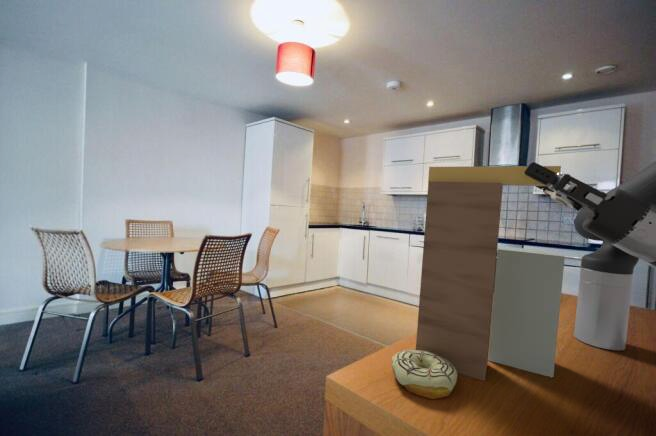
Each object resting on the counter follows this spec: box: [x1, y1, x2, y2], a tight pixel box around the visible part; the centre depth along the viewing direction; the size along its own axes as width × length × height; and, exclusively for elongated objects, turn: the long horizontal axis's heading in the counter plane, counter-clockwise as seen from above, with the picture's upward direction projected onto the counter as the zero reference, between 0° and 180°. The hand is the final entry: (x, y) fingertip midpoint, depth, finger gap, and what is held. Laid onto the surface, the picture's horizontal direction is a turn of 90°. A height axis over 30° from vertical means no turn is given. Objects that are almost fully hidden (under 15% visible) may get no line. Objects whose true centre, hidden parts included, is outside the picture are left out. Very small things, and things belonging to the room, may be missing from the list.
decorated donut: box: [391, 349, 458, 400], centre depth 53 cm, size 10×11×4 cm
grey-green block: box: [488, 245, 566, 378], centre depth 62 cm, size 8×10×22 cm
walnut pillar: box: [415, 181, 504, 382], centre depth 59 cm, size 7×12×34 cm, turn 60°
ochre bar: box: [427, 165, 562, 187], centre depth 57 cm, size 3×20×3 cm, turn 60°
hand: (526, 170), depth 54 cm, fingers open, 8 cm apart
